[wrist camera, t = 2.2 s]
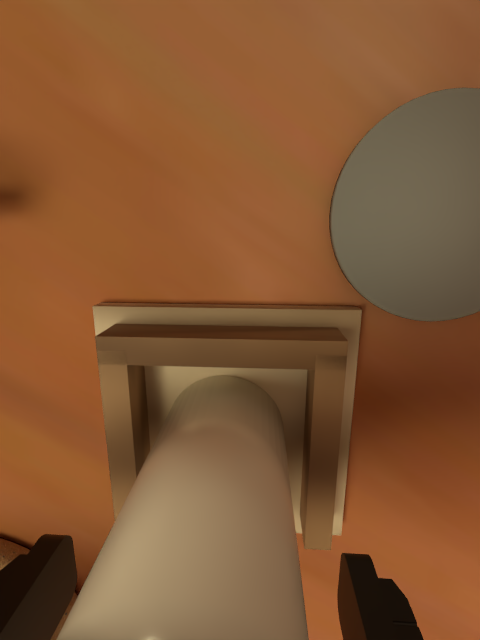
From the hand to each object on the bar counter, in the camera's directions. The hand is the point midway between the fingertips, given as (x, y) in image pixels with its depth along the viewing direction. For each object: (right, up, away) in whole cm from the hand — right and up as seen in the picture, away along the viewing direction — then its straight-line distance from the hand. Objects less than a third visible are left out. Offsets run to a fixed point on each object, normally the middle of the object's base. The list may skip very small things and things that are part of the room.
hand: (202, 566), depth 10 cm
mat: (+9, +12, +4) cm, 16 cm away
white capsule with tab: (0, +1, +7) cm, 7 cm away
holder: (0, +2, +7) cm, 8 cm away
